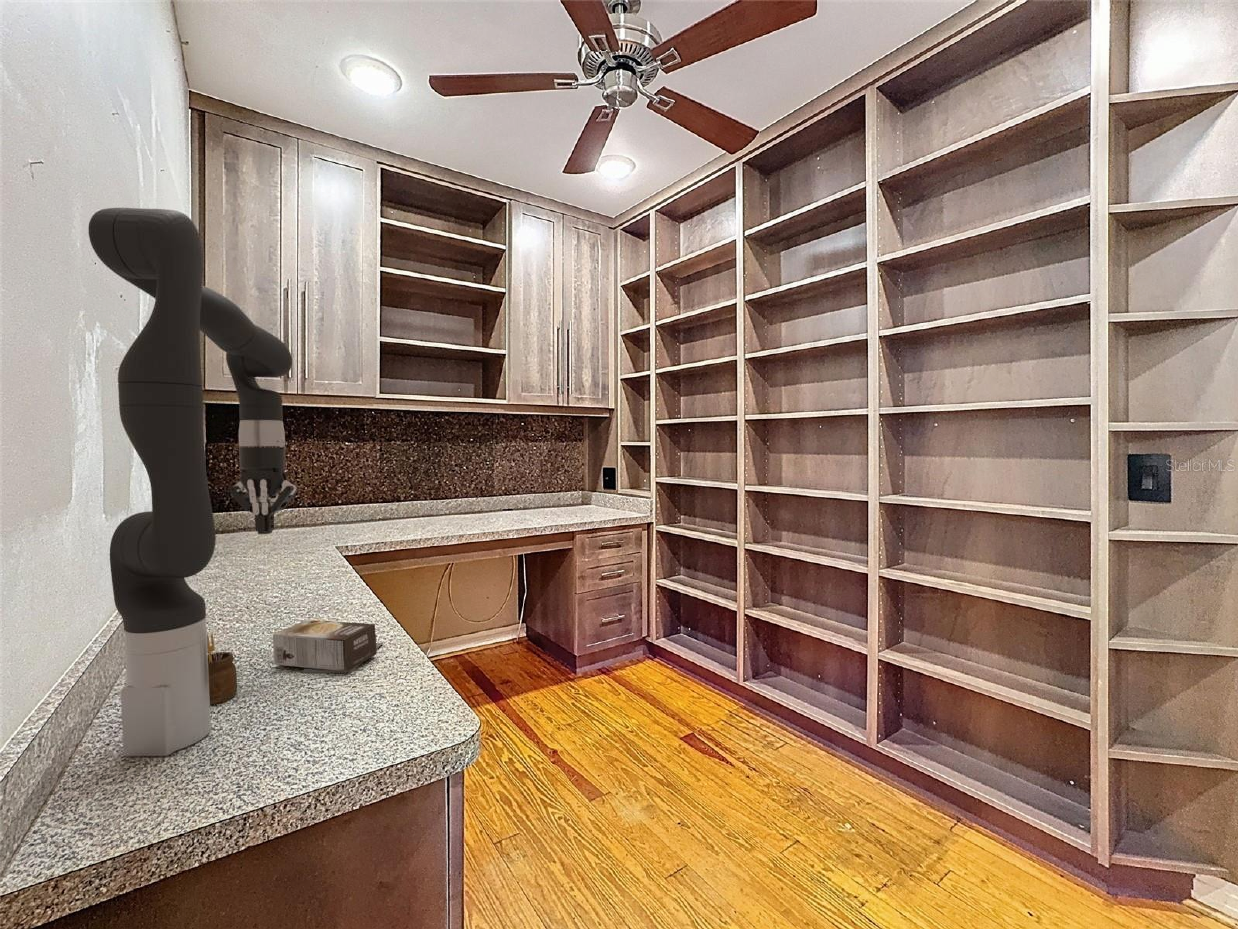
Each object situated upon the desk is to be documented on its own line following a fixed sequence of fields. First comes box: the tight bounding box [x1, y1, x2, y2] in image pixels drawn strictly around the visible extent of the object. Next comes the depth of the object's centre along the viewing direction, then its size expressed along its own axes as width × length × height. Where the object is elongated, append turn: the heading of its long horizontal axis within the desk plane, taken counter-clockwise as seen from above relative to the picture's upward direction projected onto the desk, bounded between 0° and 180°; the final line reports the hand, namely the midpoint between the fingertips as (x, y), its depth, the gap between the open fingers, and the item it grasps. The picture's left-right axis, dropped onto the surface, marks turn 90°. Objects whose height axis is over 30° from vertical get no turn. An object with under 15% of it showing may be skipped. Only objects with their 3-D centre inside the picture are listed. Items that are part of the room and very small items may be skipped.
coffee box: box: [272, 619, 378, 671], centre depth 109 cm, size 9×6×16 cm
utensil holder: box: [207, 629, 238, 706], centre depth 94 cm, size 6×6×12 cm
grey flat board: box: [302, 642, 384, 674], centre depth 111 cm, size 14×9×1 cm, turn 0°
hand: (265, 533), depth 109 cm, fingers closed
